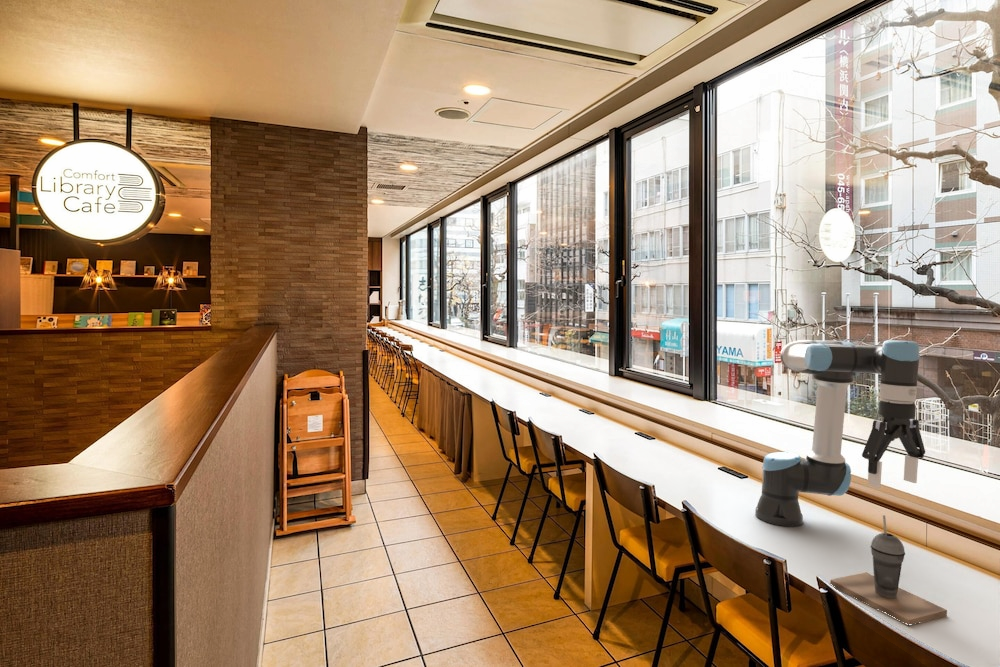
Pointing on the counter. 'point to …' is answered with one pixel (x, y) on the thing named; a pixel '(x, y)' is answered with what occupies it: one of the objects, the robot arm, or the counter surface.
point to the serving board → (889, 600)
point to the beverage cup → (887, 563)
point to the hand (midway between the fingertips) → (892, 483)
